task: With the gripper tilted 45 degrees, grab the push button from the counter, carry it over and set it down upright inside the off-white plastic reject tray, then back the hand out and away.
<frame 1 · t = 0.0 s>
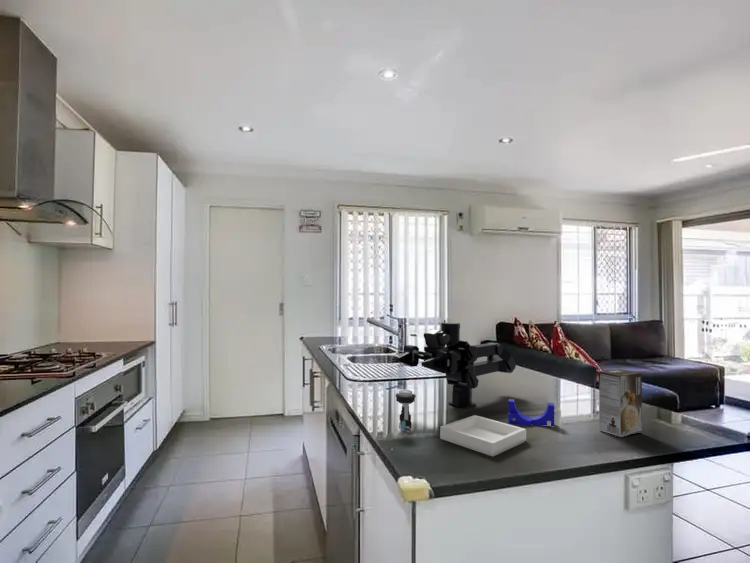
hand: (409, 361, 121), 17 cm above the countertop, tool horizontal, fingers open, 9 cm apart
blue u-shaped cradle: (530, 425, 120), on the countertop
coffee box: (620, 433, 114), on the countertop
reject tray: (482, 439, 106), on the countertop
push button: (405, 430, 113), on the countertop
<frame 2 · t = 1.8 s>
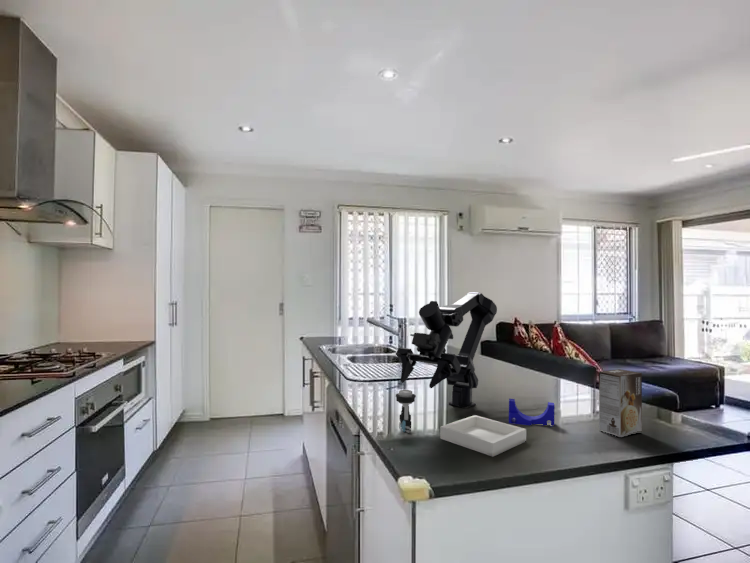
hand: (415, 384, 117), 11 cm above the countertop, tool tilted 45°, fingers open, 9 cm apart
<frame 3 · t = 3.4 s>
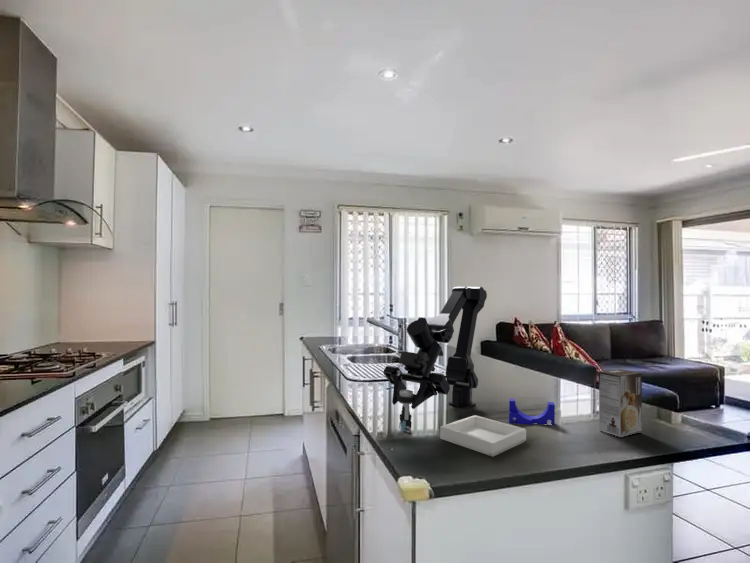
hand: (402, 405, 112), 7 cm above the countertop, tool tilted 45°, fingers open, 6 cm apart
push button: (405, 430, 113), on the countertop, touching gripper
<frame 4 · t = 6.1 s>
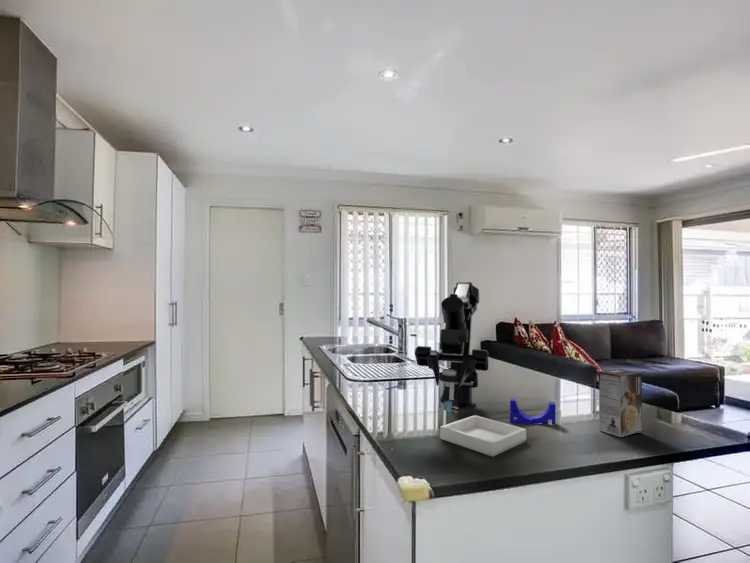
hand: (447, 385, 107), 13 cm above the countertop, tool tilted 45°, fingers closed on push button, 5 cm apart
push button: (448, 411, 108), point 7 cm above the countertop, touching gripper
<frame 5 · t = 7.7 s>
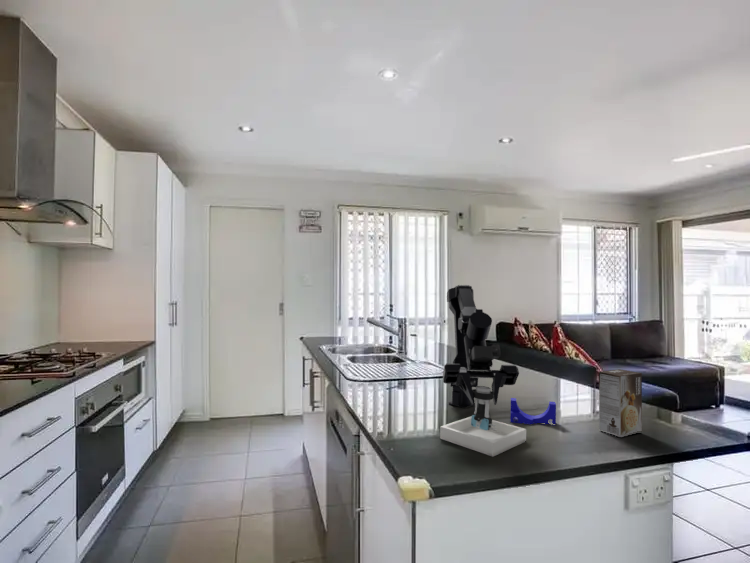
hand: (484, 403, 105), 9 cm above the countertop, tool tilted 45°, fingers closed on push button, 5 cm apart
push button: (483, 429, 107), point 3 cm above the countertop, touching gripper
when the fingers open (8 cm above the countertop, at t = 8.7 s): push button drops 1 cm, resting on reject tray.
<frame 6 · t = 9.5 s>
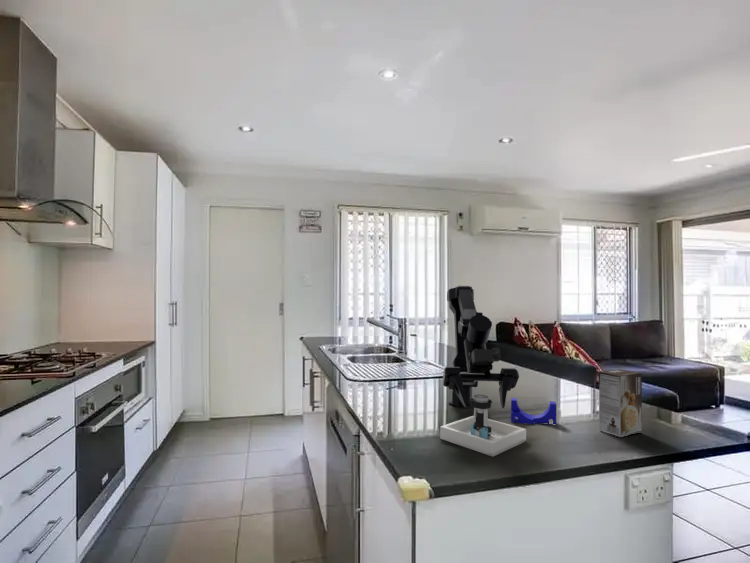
hand: (484, 406, 105), 9 cm above the countertop, tool tilted 45°, fingers open, 9 cm apart
push button: (482, 437, 107), resting on reject tray
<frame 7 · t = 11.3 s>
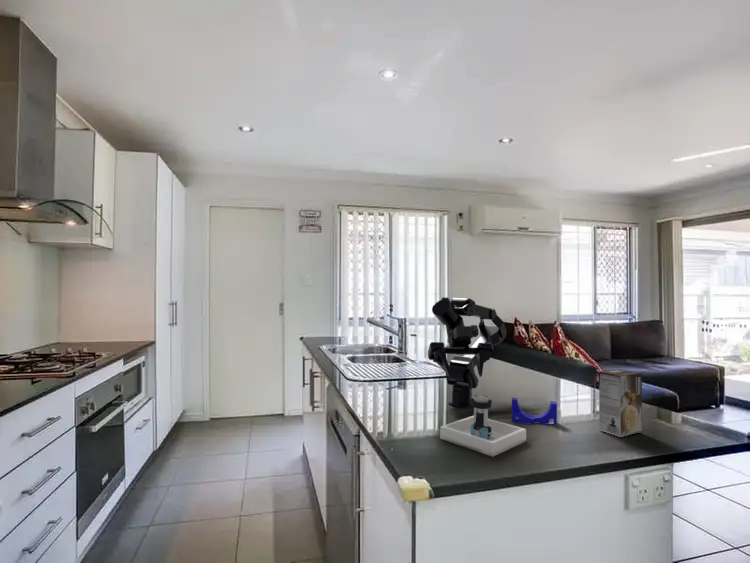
hand: (465, 375, 121), 13 cm above the countertop, tool tilted 45°, fingers open, 9 cm apart
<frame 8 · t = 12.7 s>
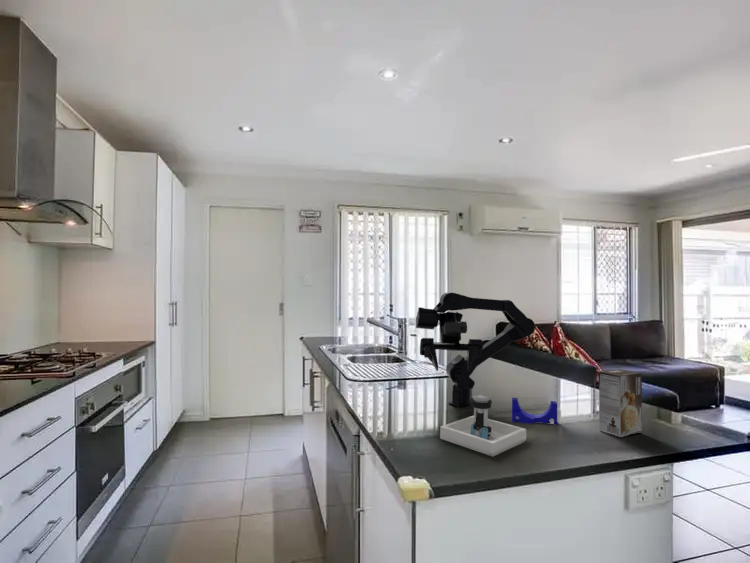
hand: (453, 370, 125), 14 cm above the countertop, tool tilted 45°, fingers open, 9 cm apart
at the end: push button inside the target area on the reject tray (0.1 cm from its centre), point 0.4 cm above the reject tray's base; push button tilted 0°; the gripper is holding nothing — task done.
